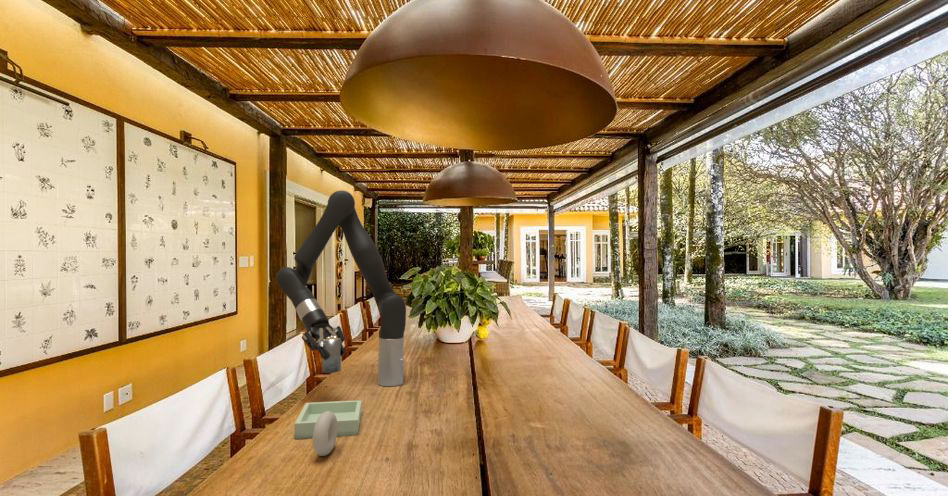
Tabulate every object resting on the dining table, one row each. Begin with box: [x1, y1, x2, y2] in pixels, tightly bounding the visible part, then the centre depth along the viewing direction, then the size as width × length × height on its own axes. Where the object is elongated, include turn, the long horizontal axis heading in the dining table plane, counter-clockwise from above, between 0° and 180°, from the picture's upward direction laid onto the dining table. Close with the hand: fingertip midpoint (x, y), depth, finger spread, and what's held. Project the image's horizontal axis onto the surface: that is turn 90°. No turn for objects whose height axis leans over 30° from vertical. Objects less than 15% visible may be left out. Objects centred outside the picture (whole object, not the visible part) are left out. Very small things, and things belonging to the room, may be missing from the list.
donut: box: [312, 411, 338, 457], centre depth 105 cm, size 10×4×10 cm, turn 178°
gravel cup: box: [321, 335, 342, 374], centre depth 139 cm, size 6×6×11 cm
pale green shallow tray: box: [293, 399, 362, 440], centre depth 122 cm, size 16×16×4 cm
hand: (335, 356), depth 138 cm, fingers closed on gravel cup, 5 cm apart
